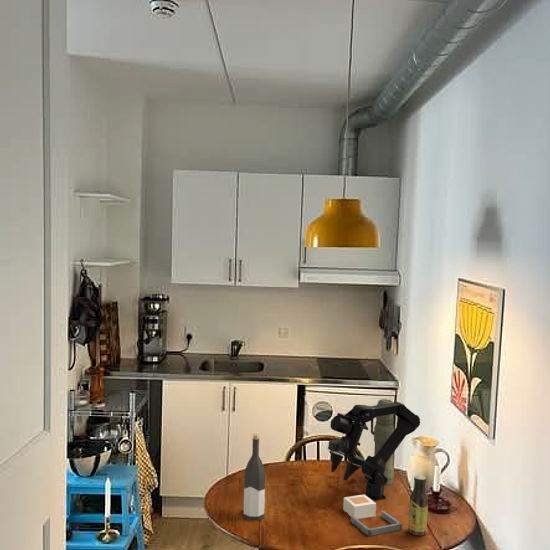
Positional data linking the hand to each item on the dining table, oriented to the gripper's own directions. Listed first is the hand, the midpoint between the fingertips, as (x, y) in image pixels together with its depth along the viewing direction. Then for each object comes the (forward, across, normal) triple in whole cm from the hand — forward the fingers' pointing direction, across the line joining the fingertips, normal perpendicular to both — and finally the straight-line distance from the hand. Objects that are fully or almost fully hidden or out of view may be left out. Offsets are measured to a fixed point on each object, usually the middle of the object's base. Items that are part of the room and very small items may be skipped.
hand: (338, 475), depth 223 cm
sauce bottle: (+5, +30, +18) cm, 35 cm away
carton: (+9, +9, +8) cm, 15 cm away
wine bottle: (+24, -2, -27) cm, 36 cm away
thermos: (-1, -13, +32) cm, 34 cm away
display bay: (+9, +20, +8) cm, 23 cm away
